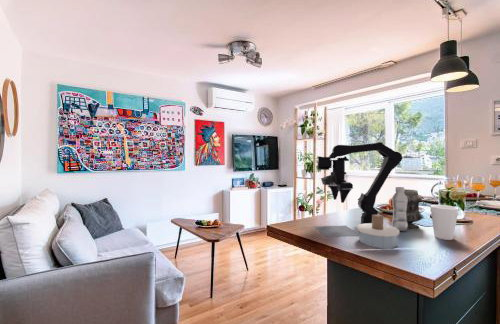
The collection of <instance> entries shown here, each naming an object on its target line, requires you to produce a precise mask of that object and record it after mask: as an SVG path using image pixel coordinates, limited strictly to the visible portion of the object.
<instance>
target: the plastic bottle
mask: <svg viewBox="0 0 500 324" xmlns="http://www.w3.org/2000/svg"><path fill="white" fill-rule="evenodd" d="M404 189H405V187H404V186H401V187H400V186H395V190H394V191H395V193H394V194H393V195H392V197H391V200H392V221H391V226H392V227H395V228H397V229H399V232H406V231H407V230H408V229H407V228H408V223H407V216H406V211H407V203H408V198H407V196H406V195H405V194H404V192H405V191H404Z"/></svg>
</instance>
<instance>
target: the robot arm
mask: <svg viewBox="0 0 500 324" xmlns="http://www.w3.org/2000/svg"><path fill="white" fill-rule="evenodd" d="M331 149H332V151H331V153H330V154H329V156H317V165H316V166H317V170H318V171H329V170H330V169H332V171H331V172H330V174H329V175H326V176H324V177H322V178H320V180H321V183H322V185H324V186H327V187H328V188H329V189H330V190H331V195H332V198H333V200H334V201H335V200H337V197H338V196H339V195H340V196H339V197H340V202H341V203H344V202H345V201H346V199H347V197H348V196H349V193H350V191H352V189H354V187H353V186H354V184H353V183H352V182H349V181H347V180H346V179H345V177H346V176H345V175H347V172H346V168H345V166H346V164H345V163H346V162H349V161H350V159H349V158H347V155H351V154H354V153H355V154H357V153H364V152H365V153H367V152H373V151H374V152H375V151H376V152H377V153H378V154H379V155H380V156H381V157H383V161H382V166H381V168H380V170H379V172H378V173H377V175H376V177H375V178H374V179H373V181H372V183H371V185H370V187H369V189H368V190H367V191H366V192H365V193H363V192H361V193H360V196H359V198H358V199H357V201H358V202H357V206H358V208H359V209H360V210H361V211H362V213H361V215H360V224H365V223H372V215H379V211H378V210H377V209H376V208H375V207H374V206H375V204H376V200H377V199H376V198H377V195H378V194H379V192H380V191H381V189H382V187H383V186H384V184H385V182H386V180H387V178H388V177H389V175H390V174H391V172H392V171H393V170H394V169H395V168H396V167H397V166H398V165H399V164H400V163H401V161H402V160H403V156H402V154H401V152H399V151H395V150H394V149H392V148H391V147H388V146H387V145H385V144H384V143H383V142H381V141H380V142H379V141H378V142H374V143H365V144H364V143H363V144H355V145H348V144H337V145H334V147H332V148H331ZM338 194H339V195H338Z"/></svg>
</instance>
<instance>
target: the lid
mask: <svg viewBox="0 0 500 324" xmlns="http://www.w3.org/2000/svg"><path fill="white" fill-rule="evenodd" d="M356 230H357V231H358V232H359V233H360V232H362V233H365V234H368V235H373V236H382V237H393V236H397V237H398V236H400V231H399V229H397V228H395V227H392V225H388V224H384V215H382V214H377V215H372V223H365V224H361V223H359V224H358V225H356Z"/></svg>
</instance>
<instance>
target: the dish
mask: <svg viewBox="0 0 500 324" xmlns="http://www.w3.org/2000/svg"><path fill="white" fill-rule="evenodd" d="M359 234H360V236H359V242H360V243H362V244H364V245H366V246H370V247H373V248H375V249H377V250H394V249H395V248H396V247H397V246H398V236H393V237H382V236H373V235H368V234H365V233H362V232H360V231H359Z"/></svg>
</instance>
